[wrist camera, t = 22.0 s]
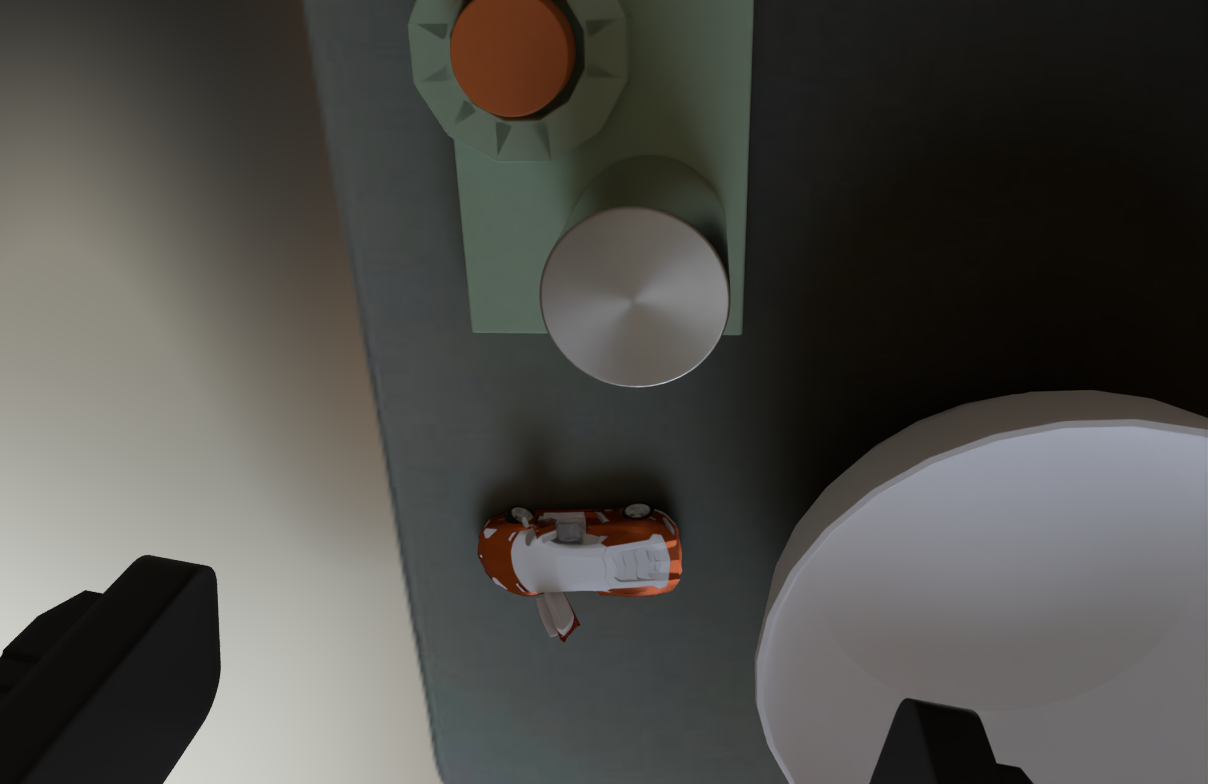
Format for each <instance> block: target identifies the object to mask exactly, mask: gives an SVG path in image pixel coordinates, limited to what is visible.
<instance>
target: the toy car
mask: <svg viewBox="0 0 1208 784" xmlns="http://www.w3.org/2000/svg"><path fill="white" fill-rule="evenodd" d="M535 512H536V514H535V515H534V514H533V513H532V512H531V511H530V510H528V509H526V508H524V507H521V506H513V507H511V508H510V509H509V510H508V513H507V512H506V513H503V514H501V515H499V516H496V517H494V518H491V519H489V520H487V521H486V523H485V525H484V527H483V529H482V531H481V533H480V535H479V537H478V538H479V544H478V556H479V559H480V561H481V563H482V565H483V567H484V568H485V572H486V573H487V575H488V576H489V577H490V578H491V579H492V581H493V582H495V583H496V584H497V585H498V586H500V587H502V588H504V589H506V590H507V591H509V592H512V593H515V594H518V595H522V596H535V595H539V594H544V597H542V598H537V599H536V602H537V607H538V611H539V614H540V617H541V620H542V622H543V624H544V626H545V628H546V630H547V632H548V633H549V635H550V637H553V636H555V635H558V636H559V638H560V639H561V640H562V641H563V642H564V643H565V640H566V638H567V637H568V636H569V635H570V634H571V633H572V631H573V630H574V629H575V628H576V627H577V626H579V625H580V624H579V622H578V619H577V617H576V615H575V613H574V611H573V609H572V607H571V605H570V603H569V601H568V600H567V598H566V596H565V594H564V592H563V591H596V592H597V593H598V594H600V595H605V596H626V597H643V596H653V595H658V594H662V593H666V592H671V591H672V590H673V589H674V588H675V586H676V585H677V583H678V582H679V580H680V576H679V575H680V574H681V572H682V567H681V561H682V547H681V542H680V540H679V529H678V528H677V527H676V524H675V523H674V522H673V521H672V520H671V519H670V518H669V516H668V515H667V514H666V513H664V512H662V511H659V510H656V509H655V512H653V508H652V507H651V506H650V505H649V504H646V503H632V504H629V505H627V506H626V507H625V508H624V509H623V508H609V509H566V510H535ZM641 515H642V516H641ZM649 533H650V534H649ZM653 546H654V547H655V548H656V549H657V550H656V549H655V548H654V547H653ZM658 554H659V555H658ZM659 557H660V558H659ZM660 563H661V564H660ZM655 564H656V565H655Z"/></svg>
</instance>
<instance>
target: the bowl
mask: <svg viewBox="0 0 1208 784" xmlns="http://www.w3.org/2000/svg"><path fill="white" fill-rule="evenodd" d="M906 698H912V699H917V700H923V701H928V702H933V703H939V704H944V705H950V706H955V707H960V708H966V709H971V710H974V711H975V712H976V713H977V714H978V715H979V717H980V719H981V721H982V723H983V726H984V729H985V732H986V735H987V737H988V740H989V743H990V746H991V749H992V751H993V754H994V757H995V760H996V763H999V764H1005V765H1010V766H1016V767H1020V768H1021V769H1022V770H1023V771H1024V772H1025V774H1026V775H1027V776H1028V777H1029V779H1030V780H1031V781H1032V782H1033V784H1208V418H1206V417H1203V416H1200V415H1197V414H1195V413H1192V412H1189V411H1186V410H1183V409H1180V408H1177V407H1174V406H1171V405H1169V404H1166V403H1163V402H1160V401H1157V400H1154V399H1151V398H1144V397H1137V396H1130V395H1123V394H1116V393H1109V392H1102V391H1095V390H1078V391H1044V392H1028V393H1023V394H1012V395H1006V396H1001V397H996V398H991V399H986V400H981V401H976V402H971V403H966V404H962V405H959V406H957V407H954V408H951V409H949V410H946V411H943V412H941V413H938V414H936V415H933V416H930V417H928V418H925V419H922V420H920V421H917V422H915V423H913V424H912V425H910V426H908V427H907V428H905V429H903V430H901V431H900V432H898V433H896V434H895V435H893V436H891V437H889V438H888V439H886V440H884V441H883V442H881V443H879V444H877V445H876V446H875V447H873V448H872V449H871V450H870V451H869V452H868V453H866V454H865V455H864V456H863V457H861V458H860V459H859V460H858V461H857V462H856V463H854V464H853V465H852V466H851V467H850V468H849V469H847V470H846V471H845V472H844V473H843V474H841V475H840V476H839V477H838V478H837V479H836V480H834V481H833V482H832V483H831V484H830V485H829V486H827V487H826V488H825V490H824V491H823V492H822V493H821V495H820V496H819V497H818V498H817V500H816V501H815V502H814V503H813V505H812V506H811V507H810V508H809V510H808V511H807V512H806V513H805V515H804V516H803V517H802V518H801V520H800V521H799V522H798V523H797V525H796V526H795V528H794V530H793V532H792V534H791V536H790V538H789V540H788V542H787V544H786V546H785V548H784V550H783V552H782V554H781V556H780V558H779V560H778V562H777V564H776V567H775V571H774V575H773V579H772V584H771V588H770V592H769V596H768V600H767V605H766V609H765V613H764V618H763V622H762V627H761V631H760V635H759V640H758V644H757V649H756V653H755V701H756V705H757V708H758V712H759V716H760V719H761V723H762V726H763V730H764V734H765V737H766V741H767V744H768V746H769V748H770V750H771V752H772V754H773V755H774V757H775V759H776V761H777V763H778V764H779V766H780V768H781V770H782V771H783V773H784V775H785V777H786V778H787V780H788V782H789V784H869V783H870V780H871V777H872V775H873V772H874V769H875V767H876V764H877V761H878V759H879V756H880V753H881V751H882V748H883V746H884V743H885V740H886V738H887V735H888V732H889V730H890V727H891V724H892V722H893V719H894V716H895V714H896V711H897V709H898V707H899V705H900V703H901V702H902V701H903V700H904V699H906Z"/></svg>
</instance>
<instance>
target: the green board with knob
mask: <svg viewBox="0 0 1208 784" xmlns="http://www.w3.org/2000/svg"><path fill="white" fill-rule="evenodd" d="M472 1H473V0H416V1H415V4H414V6H413V9H412V11H411V14H410V16H409V19H408V23H407V28H408V37H409V46H410V55H411V64H412V73H413V82H414V83H415V86H416V88H417V89H418V91H419V92H420V94H421V95H422V97H423V99H424V100H425V102H426V103H427V105H428V106H429V108H430V109H431V111H432V112H433V114H434V115H435V117H436V118H437V120H438V121H439V123H440V125H441V126H442V128H443V129H444V131H445V132H446V133H448V136H450V137H452V138H453V141H454V152H455V162H456V173H457V183H458V193H459V204H460V214H461V225H462V235H463V246H464V256H465V267H466V277H467V287H468V298H469V308H470V319H471V329H472V332H474V333H548V332H547V329H546V327H545V324H544V321H543V318H542V313H541V309H540V299H539V291H540V281H541V276H542V271H543V268H544V265H545V262H546V260H547V258H548V256H549V254H550V252H551V250H552V248H553V246H554V245H555V243H556V241H557V239H558V237H559V236H560V234H561V232H562V230H563V228H564V226H565V225H566V223H567V221H568V219H569V217H570V215H571V214H572V212H573V210H574V208H575V206H576V204H577V203H578V201H579V199H580V197H581V195H582V193H583V192H584V190H585V189H586V187H587V186H588V185H589V183H590V182H591V181H592V180H593V179H594V178H595V177H596V176H597V175H598V174H599V173H600V172H602V171H603V170H604V169H606V168H607V167H609V166H611V165H612V164H614V163H617V162H619V161H621V160H624V159H627V158H630V157H636V156H643V155H655V156H663V157H667V158H672V159H675V160H677V161H680V162H682V163H684V164H686V165H688V166H690V167H691V168H693V169H694V170H696V171H697V172H698V173H700V174H701V175H702V176H703V177H704V178H705V179H706V180H707V181H708V182H709V184H710V185H711V186H712V188H713V189H714V191H715V192H716V194H717V196H718V197H719V200H720V202H721V204H722V207H723V210H724V214H725V218H726V226H727V242H728V259H729V275H730V292H731V305H730V312H729V318H728V321H727V325H726V328H725V330H724V333H723V335H741V334H742V332H743V303H744V274H745V246H746V217H747V188H748V159H749V131H750V102H751V73H752V44H753V16H754V0H552V1H553V2H554V3H555V4H556V5H557V6H558V7H559V8H560V9H561V10H562V11H563V13H564V14H565V16H566V17H567V19H568V21H569V23H570V25H571V28H572V31H573V34H574V38H575V45H576V58H575V65H574V69H573V72H572V75H571V77H570V79H569V81H568V83H567V85H566V86H565V87H564V89H563V90H562V91H561V92H560V93H559V94H558V95H557V96H556V97H555V98H554V99H553V100H552V101H551V102H550V103H548V104H547V105H546V106H545V107H543V108H542V109H540V110H538V111H536V112H534V113H532V114H529V115H525V116H520V117H505V116H500V115H496V114H493V113H490V112H488V111H486V110H484V109H483V108H481V107H479V106H478V105H477V104H475V103H474V102H473V101H472V100H471V99H470V98H469V97H468V96H467V95H466V94H465V92H464V91H463V90H462V88H461V87H460V85H459V83H458V81H457V79H456V77H455V74H454V72H453V68H452V65H451V58H450V41H451V36H452V31H453V28H454V25H455V23H456V21H457V19H458V17H459V16H460V14H461V13H462V11H463V10H464V9H465V8H466V7H467V5H468V4H469V3H471V2H472Z"/></svg>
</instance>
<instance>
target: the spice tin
mask: <svg viewBox="0 0 1208 784" xmlns="http://www.w3.org/2000/svg"><path fill="white" fill-rule="evenodd" d="M539 299H540V309H541V313H542V318H543V321H544V324H545V327H546V329H547V332H548V333H549V335H550V337H551V339H552V341H553V342H554V344H555V345H556V347H557V348H558V350H559V351H560V352H561V353H562V354H563V355H564V356H565V358H566V359H567V360H568V361H570V362H571V363H572V364H573V365H574V366H575V367H577V368H578V369H580V370H581V371H583V372H584V373H585V374H587V375H589V376H591V377H593V378H595V379H597V380H600V381H603V382H605V383H608V384H612V385H616V386H622V387H631V388H644V387H652V386H657V385H661V384H665V383H669V382H671V381H674V380H676V379H679V378H681V377H682V376H684V375H686V374H688V373H690V372H691V371H692V370H694V369H695V368H697V367H698V366H699V365H700V364H701V363H702V362H703V361H704V360H706V359H707V358H708V356H709V355H710V354H711V353H712V351H713V350H714V349H715V347H716V346H717V344H718V343H719V341H720V339H721V337H722V335H723V333H724V330H725V328H726V325H727V321H728V318H729V312H730V305H731V292H730V275H729V259H728V242H727V226H726V218H725V214H724V210H723V207H722V204H721V202H720V200H719V197H718V196H717V194H716V192H715V191H714V189H713V188H712V186H711V185H710V184H709V182H708V181H707V180H706V179H705V178H704V177H703V176H702V175H701V174H700V173H698V172H697V171H696V170H694V169H693V168H691V167H690V166H688V165H686V164H684V163H682V162H680V161H677V160H675V159H672V158H667V157H663V156H655V155H643V156H636V157H630V158H627V159H624V160H621V161H619V162H617V163H614V164H612V165H611V166H609V167H607V168H606V169H604V170H603V171H602V172H600V173H599V174H598V175H597V176H596V177H595V178H594V179H593V180H592V181H591V182H590V183H589V185H588V186H587V187H586V189H585V190H584V192H583V193H582V195H581V197H580V199H579V201H578V203H577V204H576V206H575V208H574V210H573V212H572V214H571V215H570V217H569V219H568V221H567V223H566V225H565V226H564V228H563V230H562V232H561V234H560V236H559V237H558V239H557V241H556V243H555V245H554V246H553V248H552V250H551V252H550V254H549V256H548V258H547V260H546V262H545V265H544V268H543V271H542V276H541V281H540V291H539Z"/></svg>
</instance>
